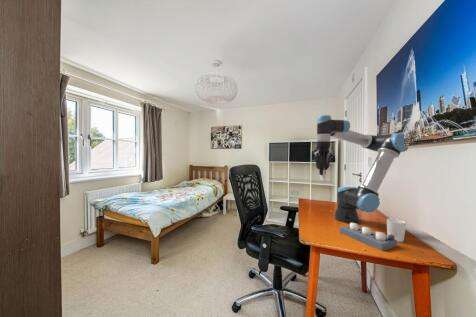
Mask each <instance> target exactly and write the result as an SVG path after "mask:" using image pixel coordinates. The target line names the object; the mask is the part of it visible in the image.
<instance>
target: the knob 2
mask: <svg viewBox="0 0 476 317" xmlns="http://www.w3.org/2000/svg"><path fill="white" fill-rule="evenodd" d="M375 233H376V239H377V240H380V241H382V242H384V241H385V239H386V237H387V236H386V233H385V232H382V231H375Z"/></svg>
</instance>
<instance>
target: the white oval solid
mask: <svg viewBox="0 0 476 317" xmlns="http://www.w3.org/2000/svg"><path fill="white" fill-rule="evenodd" d="M361 228H362V234H364V235H367V236H370V235H371V231H372V228H370V227H368V226H362V227H361Z"/></svg>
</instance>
